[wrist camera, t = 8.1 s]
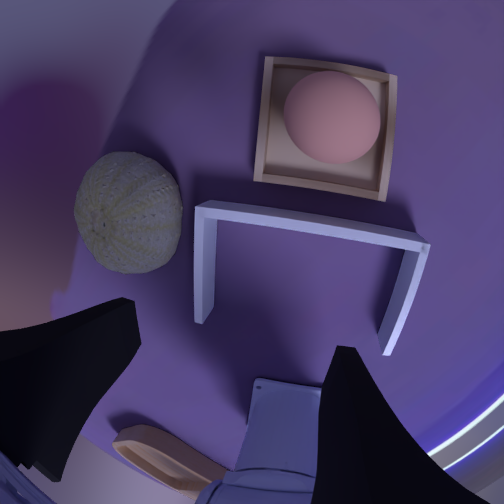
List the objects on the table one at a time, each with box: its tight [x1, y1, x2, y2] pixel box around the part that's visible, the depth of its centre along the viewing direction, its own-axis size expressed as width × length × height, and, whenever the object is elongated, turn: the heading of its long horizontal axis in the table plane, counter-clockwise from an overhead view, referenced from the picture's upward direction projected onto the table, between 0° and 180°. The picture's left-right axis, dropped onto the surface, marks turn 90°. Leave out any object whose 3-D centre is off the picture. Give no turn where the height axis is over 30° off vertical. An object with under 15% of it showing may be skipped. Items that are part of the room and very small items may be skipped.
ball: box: [284, 71, 380, 164], centre depth 12 cm, size 5×5×5 cm
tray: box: [253, 56, 397, 202], centre depth 14 cm, size 8×8×1 cm
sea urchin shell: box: [74, 151, 183, 274], centre depth 18 cm, size 9×8×8 cm
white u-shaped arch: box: [194, 200, 431, 356], centre depth 17 cm, size 8×14×2 cm, turn 85°
